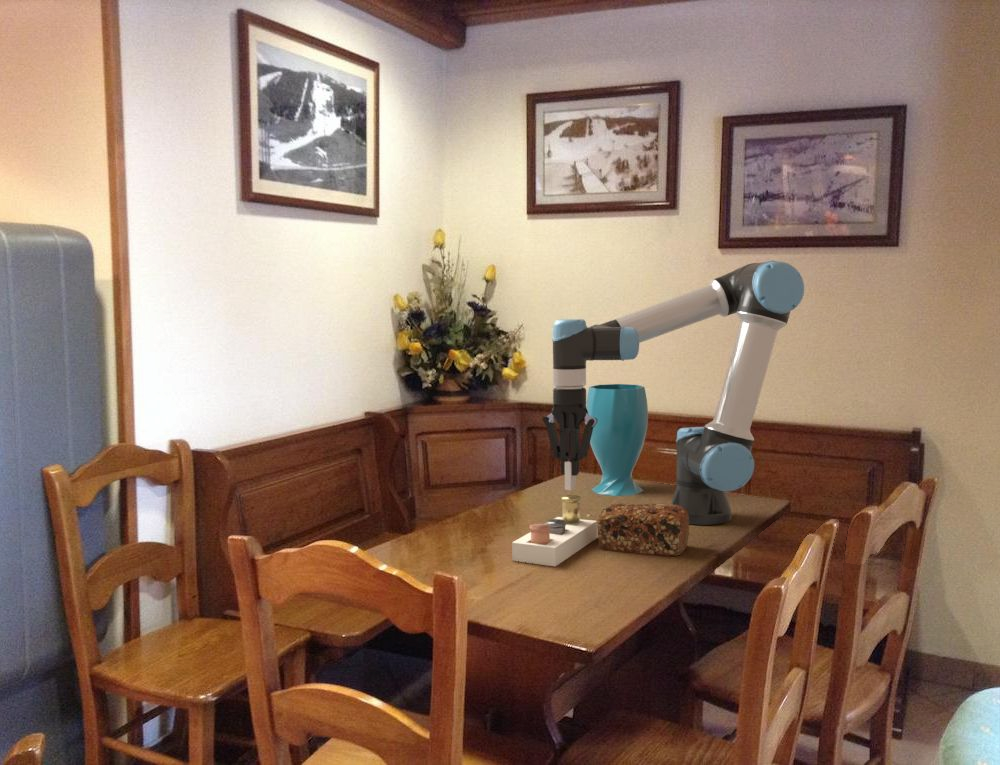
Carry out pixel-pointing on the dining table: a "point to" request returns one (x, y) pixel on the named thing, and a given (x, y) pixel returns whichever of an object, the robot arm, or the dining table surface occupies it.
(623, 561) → the dining table surface
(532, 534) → the terracotta plug
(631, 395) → the vase
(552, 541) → the slab
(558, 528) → the grey plug
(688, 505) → the robot arm
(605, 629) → the dining table surface
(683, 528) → the bread
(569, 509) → the brass plug
